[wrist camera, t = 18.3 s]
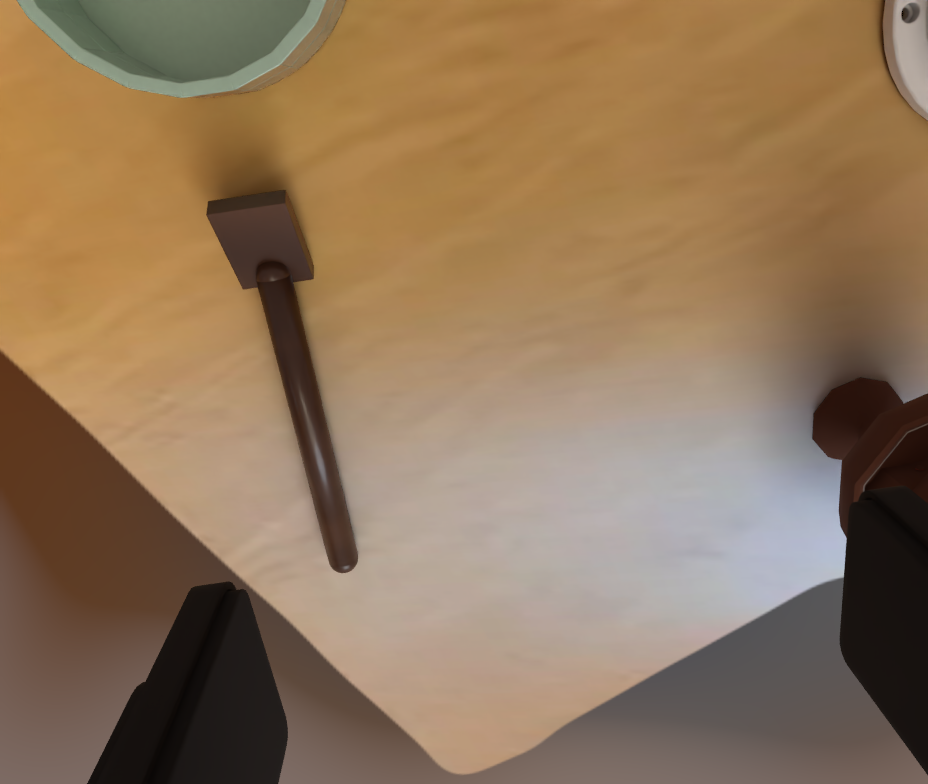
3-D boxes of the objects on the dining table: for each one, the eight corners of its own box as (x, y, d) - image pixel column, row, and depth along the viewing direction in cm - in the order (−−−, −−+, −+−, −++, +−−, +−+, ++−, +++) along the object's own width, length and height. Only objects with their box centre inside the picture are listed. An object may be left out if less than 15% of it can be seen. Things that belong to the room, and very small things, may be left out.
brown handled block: (207, 200, 35) (181, 393, 29) (286, 189, 35) (277, 379, 29) (317, 428, 52) (316, 581, 46) (370, 420, 52) (377, 572, 46)
